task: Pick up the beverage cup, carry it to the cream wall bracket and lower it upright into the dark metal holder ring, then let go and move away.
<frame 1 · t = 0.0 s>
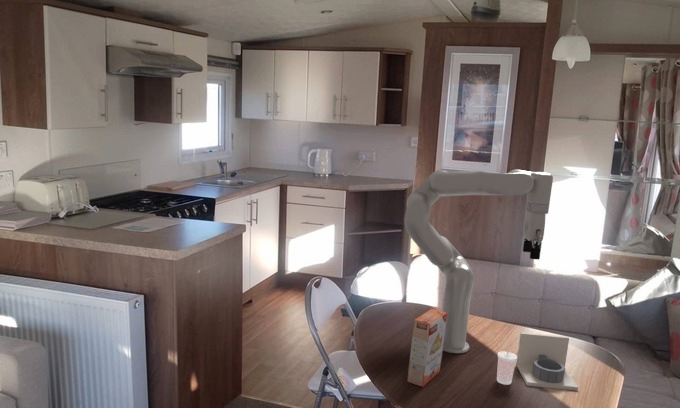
hand: (530, 255, 204), 37 cm above the table, tool pointing down, fingers open, 9 cm apart
beverage cup: (503, 381, 187), on the table
cracker box: (424, 378, 186), on the table
bracket: (545, 377, 192), on the table
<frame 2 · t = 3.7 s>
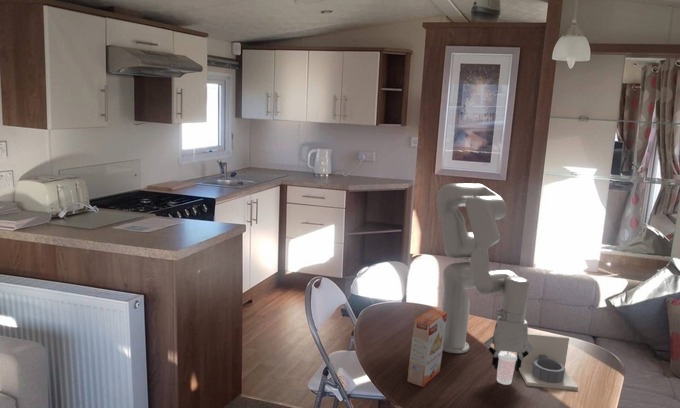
hand: (505, 367, 187), 5 cm above the table, tool pointing down, fingers closed on beverage cup, 6 cm apart
beverage cup: (503, 381, 187), on the table, touching gripper
everything else where it was.
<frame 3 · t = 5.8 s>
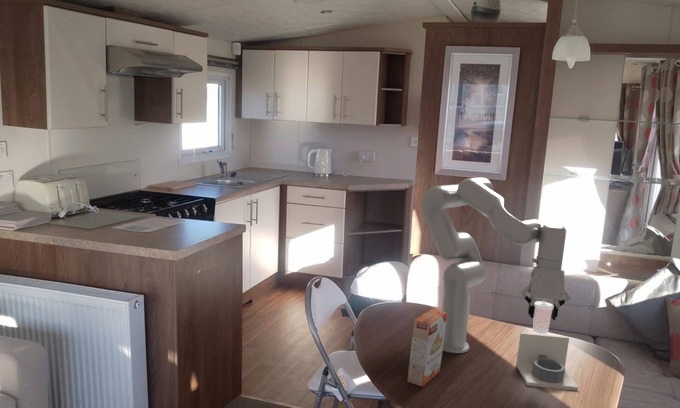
hand: (542, 317, 186), 22 cm above the table, tool pointing down, fingers closed on beverage cup, 6 cm apart
beverage cup: (540, 331, 186), point 17 cm above the table, touching gripper
everything else where it was.
when the fingers open (7 cm above the table, at t = 8.3 s): beverage cup moves 1 cm, resting on bracket.
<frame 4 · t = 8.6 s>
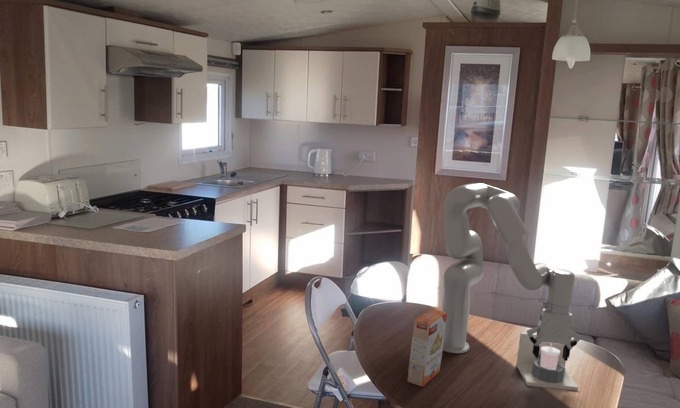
hand: (550, 357, 190), 8 cm above the table, tool pointing down, fingers open, 9 cm apart
beverage cup: (547, 376, 191), point 1 cm above the table, touching bracket
everything else where it was.
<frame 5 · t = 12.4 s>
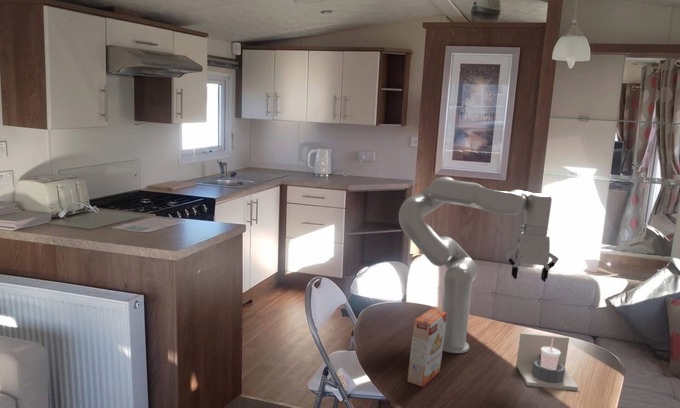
hand: (528, 279, 197), 30 cm above the table, tool pointing down, fingers open, 9 cm apart
nothing on the table moved.
at the end: beverage cup 0.1 cm from the target spot on the bracket, point 1.0 cm above the bracket's base; beverage cup tilted 0°; the gripper is holding nothing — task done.
